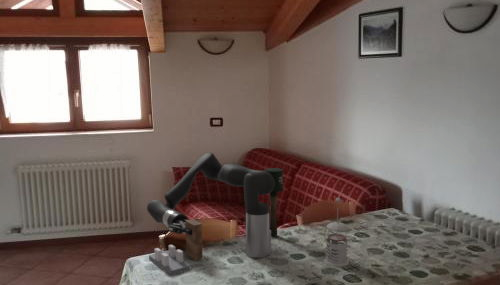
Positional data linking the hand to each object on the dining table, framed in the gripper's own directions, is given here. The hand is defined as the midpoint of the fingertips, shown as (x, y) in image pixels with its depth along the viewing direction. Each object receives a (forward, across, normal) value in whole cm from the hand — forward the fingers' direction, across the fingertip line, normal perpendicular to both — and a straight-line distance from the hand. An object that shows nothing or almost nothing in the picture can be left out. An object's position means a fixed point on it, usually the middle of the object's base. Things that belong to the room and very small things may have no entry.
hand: (195, 231), depth 176 cm
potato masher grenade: (-1, -40, -11) cm, 42 cm away
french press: (+34, -42, -11) cm, 55 cm away
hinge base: (-1, +11, -11) cm, 15 cm away
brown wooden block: (-1, 0, -10) cm, 11 cm away
